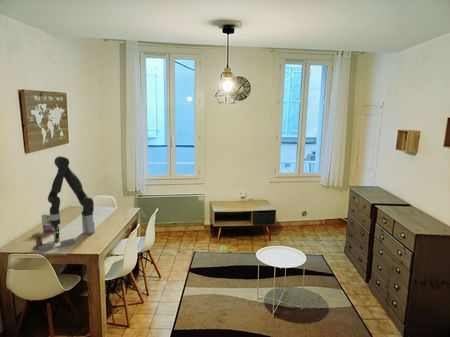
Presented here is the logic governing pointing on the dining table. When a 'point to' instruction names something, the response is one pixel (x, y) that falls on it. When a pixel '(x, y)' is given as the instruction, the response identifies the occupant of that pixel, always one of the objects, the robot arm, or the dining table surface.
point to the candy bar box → (46, 223)
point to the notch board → (50, 246)
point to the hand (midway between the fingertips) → (56, 237)
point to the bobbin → (38, 239)
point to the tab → (55, 238)
